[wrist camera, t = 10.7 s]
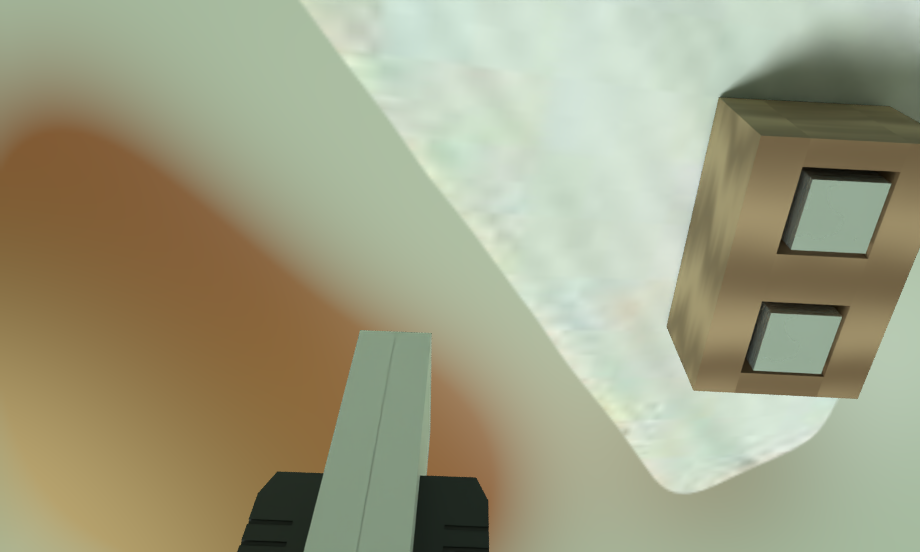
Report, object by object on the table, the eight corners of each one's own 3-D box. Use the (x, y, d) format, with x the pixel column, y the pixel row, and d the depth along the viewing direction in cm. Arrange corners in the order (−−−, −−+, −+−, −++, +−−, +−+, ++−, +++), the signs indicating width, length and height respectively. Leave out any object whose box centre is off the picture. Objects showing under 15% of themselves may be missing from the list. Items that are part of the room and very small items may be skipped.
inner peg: (768, 139, 41) (812, 179, 36) (837, 143, 41) (891, 183, 36) (751, 203, 43) (790, 249, 38) (817, 206, 43) (865, 253, 38)
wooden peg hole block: (718, 97, 41) (761, 135, 35) (889, 106, 41) (961, 146, 35) (666, 326, 49) (693, 390, 43) (810, 334, 49) (857, 398, 43)
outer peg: (735, 260, 45) (771, 313, 40) (798, 264, 45) (842, 316, 40) (721, 313, 47) (753, 370, 42) (781, 316, 47) (820, 373, 42)
